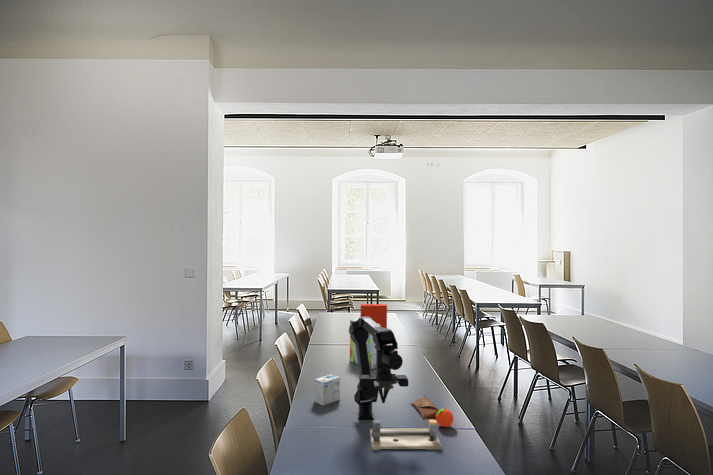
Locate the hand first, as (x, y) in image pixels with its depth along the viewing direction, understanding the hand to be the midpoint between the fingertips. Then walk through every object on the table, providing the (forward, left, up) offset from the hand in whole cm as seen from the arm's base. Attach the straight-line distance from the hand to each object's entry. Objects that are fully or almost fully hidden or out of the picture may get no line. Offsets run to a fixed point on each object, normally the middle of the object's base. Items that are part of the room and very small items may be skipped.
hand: (383, 402), depth 159 cm
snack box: (-89, -3, -12) cm, 90 cm away
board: (+5, +7, -12) cm, 15 cm away
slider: (+6, +18, -11) cm, 22 cm away
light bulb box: (-33, -23, -12) cm, 42 cm away
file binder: (-114, +4, -12) cm, 115 cm away
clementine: (-6, +25, -12) cm, 28 cm away
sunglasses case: (-22, +21, -13) cm, 33 cm away
